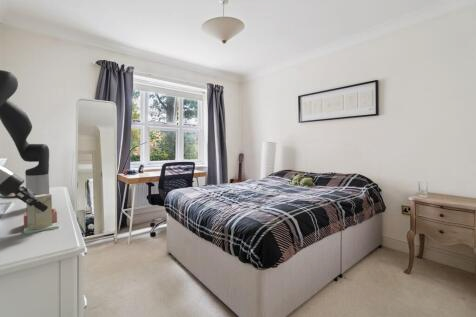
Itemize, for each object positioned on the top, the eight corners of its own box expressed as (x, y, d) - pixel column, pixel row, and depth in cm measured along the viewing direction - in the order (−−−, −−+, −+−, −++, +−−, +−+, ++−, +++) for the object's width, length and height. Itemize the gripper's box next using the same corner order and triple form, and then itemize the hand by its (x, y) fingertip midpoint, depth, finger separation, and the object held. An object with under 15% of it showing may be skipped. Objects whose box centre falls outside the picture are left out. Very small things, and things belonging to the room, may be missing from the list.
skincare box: (35, 230, 86) (34, 197, 86) (26, 229, 87) (25, 196, 87) (53, 224, 92) (52, 194, 92) (44, 223, 93) (43, 193, 93)
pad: (24, 229, 89) (24, 227, 89) (57, 224, 95) (57, 222, 95) (23, 234, 84) (23, 232, 84) (58, 228, 91) (58, 226, 91)
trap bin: (24, 224, 95) (24, 212, 95) (55, 219, 101) (55, 208, 101) (24, 229, 89) (23, 216, 89) (57, 223, 96) (56, 211, 96)
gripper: (11, 174, 79) (55, 202, 87) (13, 171, 89) (52, 196, 97) (-12, 191, 75) (37, 219, 83) (-7, 186, 86) (36, 211, 94)
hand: (45, 207), depth 90 cm, fingers open, 8 cm apart
